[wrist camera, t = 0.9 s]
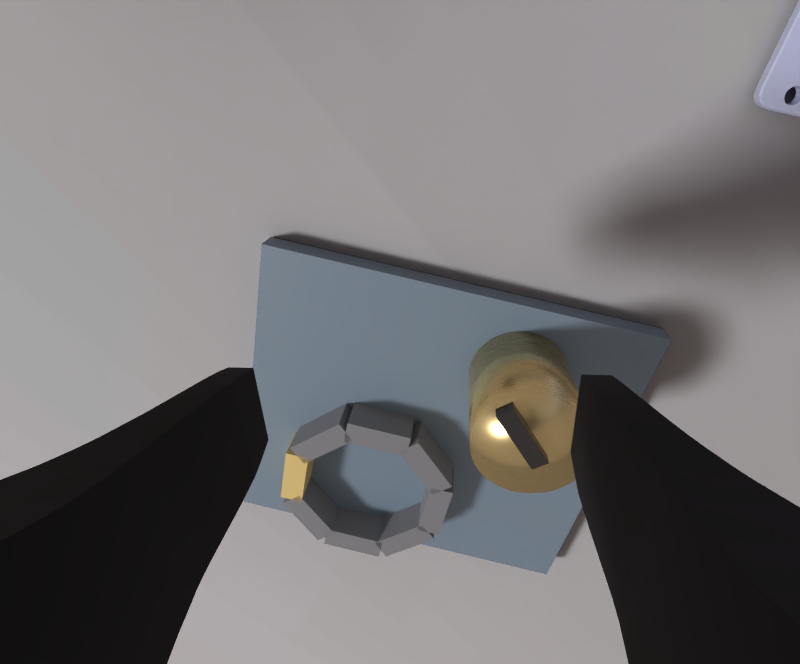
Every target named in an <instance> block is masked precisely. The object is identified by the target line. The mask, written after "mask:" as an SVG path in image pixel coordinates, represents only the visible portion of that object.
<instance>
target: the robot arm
mask: <svg viewBox="0 0 800 664" xmlns="http://www.w3.org/2000/svg"><path fill="white" fill-rule="evenodd" d="M792 87H794V88H795V90H796V95H795V98H794V99H793V100H792V101H791V102H790V103H788V104H786V103H785V100H784V97H785V94H786V92H787V91H788V90H789V89H790V88H792ZM754 102H755V103H756V105H757V106H758V107H760V108H762V109H764V110H769V111H773V112H777V113H782V114H786V115H791V116H795V117H799V118H800V0H799V1H798V3H797V5H796V7H795V9H794V11H793V13H792V15H791V18H790V20H789V22H788V24H787V26H786V28H785V30H784V32H783V34H782V36H781V38H780V40H779V42H778V44H777V46H776V48H775V50H774V52H773V54H772V56H771V58H770V60H769V62H768V64H767V66H766V68H765V71H764V73H763V75H762V77H761V79H760V81H759V83H758V85H757V87H756V89H755V93H754ZM268 440H269V439H268V434H267V430H266V425H265V420H264V416H263V411H262V406H261V402H260V397H259V392H258V387H257V383H256V378H255V373H254V369H253V368H226V369H224V370H221V371H219V372H217V373H215V374H213V375H211V376H209V377H208V378H206V379H204V380H202V381H200V382H199V383H197V384H195V385H193V386H191V387H190V388H188V389H186V390H185V391H183V392H181V393H179V394H178V395H176V396H174V397H172V398H171V399H169V400H167V401H165V402H164V403H162V404H160V405H158V406H157V407H155V408H153V409H151V410H150V411H148V412H146V413H144V414H142V415H140V416H138V417H137V418H135V419H133V420H131V421H129V422H127V423H125V424H123V425H121V426H120V427H118V428H116V429H114V430H112V431H110V432H108V433H106V434H105V435H103V436H101V437H99V438H97V439H95V440H93V441H91V442H89V443H87V444H84V445H82V446H80V447H78V448H76V449H74V450H72V451H69V452H67V453H65V454H63V455H60V456H58V457H56V458H54V459H51V460H49V461H47V462H45V463H42V464H40V465H37V466H35V467H33V468H30V469H28V470H25V471H22V472H20V473H17V474H15V475H12V476H9V477H7V478H4V479H2V480H0V664H167V662H168V659H169V657H170V654H171V652H172V649H173V646H174V644H175V641H176V639H177V636H178V633H179V631H180V629H181V626H182V624H183V621H184V619H185V617H186V614H187V612H188V609H189V607H190V605H191V602H192V600H193V597H194V595H195V592H196V590H197V588H198V586H199V584H200V581H201V579H202V577H203V575H204V573H205V571H206V569H207V567H208V565H209V563H210V561H211V560H212V558H213V556H214V554H215V552H216V550H217V548H218V546H219V545H220V543H221V541H222V539H223V537H224V535H225V533H226V532H227V530H228V528H229V526H230V524H231V522H232V520H233V519H234V517H235V515H236V513H237V511H238V509H239V507H240V505H241V504H242V502H243V500H244V498H245V496H246V494H247V492H248V490H249V488H250V486H251V484H252V482H253V480H254V478H255V476H256V473H257V471H258V468H259V466H260V463H261V460H262V457H263V455H264V452H265V449H266V446H267V443H268ZM570 452H571V457H572V463H573V468H574V474H575V479H576V484H577V489H578V494H579V497H580V501H581V504H582V507H583V510H584V513H585V516H586V519H587V522H588V525H589V529H590V532H591V535H592V538H593V541H594V544H595V547H596V550H597V553H598V556H599V559H600V562H601V565H602V568H603V571H604V574H605V577H606V580H607V583H608V586H609V589H610V592H611V595H612V598H613V602H614V605H615V609H616V612H617V616H618V619H619V623H620V627H621V632H622V636H623V641H624V645H625V649H626V654H627V658H628V663H629V664H800V507H798V506H796V505H795V504H793V503H791V502H790V501H788V500H786V499H785V498H783V497H781V496H780V495H778V494H776V493H775V492H773V491H771V490H770V489H768V488H766V487H765V486H763V485H761V484H760V483H758V482H756V481H755V480H753V479H751V478H750V477H748V476H747V475H745V474H744V473H742V472H740V471H739V470H737V469H736V468H734V467H733V466H731V465H730V464H729V463H727V462H726V461H724V460H723V459H721V458H720V457H718V456H717V455H715V454H714V453H713V452H711V451H710V450H708V449H707V448H705V447H704V446H703V445H701V444H700V443H698V442H697V441H696V440H694V439H693V438H692V437H690V436H689V435H688V434H686V433H685V432H684V431H682V430H681V429H680V428H678V427H677V426H676V425H674V424H673V423H672V422H671V421H669V420H668V419H667V418H665V417H664V416H663V415H662V414H660V413H659V412H658V411H657V410H655V409H654V408H653V407H652V406H650V405H649V404H648V403H647V402H645V401H644V400H643V399H642V398H640V397H639V396H638V395H637V394H635V393H634V392H633V391H632V390H631V389H629V388H628V387H627V386H626V385H624V384H623V383H622V382H620V381H619V380H618V379H616V378H615V377H614V376H612V375H581V379H580V387H579V394H578V401H577V408H576V415H575V423H574V430H573V437H572V444H571V451H570Z"/></svg>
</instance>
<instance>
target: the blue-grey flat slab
mask: <svg viewBox="0 0 800 664" xmlns="http://www.w3.org/2000/svg"><path fill="white" fill-rule="evenodd" d="M515 331H526V332H533V333H537V334H540V335H542V336H545V337H547V338H548V339H550V340H552V341H553V342H554V343H556V344H557V345H558V346H559V347H560V349H561V350H562V351H563V353H564V354H565V357H566V359H567V361H568V364H569V366H570V369H571V372H572V374H573V377H574V380H575V382H576V385H577V388H578V390H579V387H580V379H581V375H612V376H614V377H615V378H616V379H618V380H619V381H620V382H622V383H623V384H624V385H626V386H627V387H628V388H629V389H631V390H632V391H633V392H634V393H635V394H637V395H638V396H639V397H640V398H641V396H642V395H643V393H644V391H645V389H646V387H647V385H648V383H649V381H650V380H651V378H652V376H653V374H654V372H655V370H656V368H657V366H658V365H659V363H660V361H661V359H662V357H663V355H664V353H665V352H666V350H667V348H668V346H669V344H670V342H671V339H670V338H669V337H668V335H667V334H666V333H665V332H664V330H663V329H662V328H657V327H653V326H649V325H644V324H640V323H636V322H632V321H627V320H623V319H619V318H615V317H610V316H606V315H602V314H598V313H593V312H589V311H585V310H581V309H576V308H572V307H568V306H563V305H559V304H555V303H551V302H546V301H542V300H538V299H534V298H529V297H525V296H521V295H517V294H512V293H508V292H504V291H499V290H495V289H491V288H487V287H482V286H478V285H474V284H470V283H465V282H461V281H457V280H453V279H448V278H444V277H440V276H435V275H431V274H427V273H423V272H418V271H414V270H410V269H406V268H401V267H397V266H393V265H389V264H384V263H380V262H376V261H371V260H367V259H363V258H359V257H354V256H350V255H346V254H342V253H337V252H333V251H329V250H325V249H320V248H316V247H312V246H308V245H303V244H299V243H295V242H290V241H286V240H282V239H278V238H273V237H270V238H269V239H268V240H266V241H265V242H264V243H263V244H262V248H261V262H260V276H259V291H258V305H257V319H256V333H255V347H254V362H253V369H254V373H255V378H256V383H257V387H258V392H259V397H260V402H261V406H262V411H263V416H264V420H265V425H266V430H267V434H268V439H269V440H268V443H267V446H266V449H265V452H264V455H263V457H262V460H261V463H260V466H259V468H258V471H257V473H256V476H255V478H254V480H253V482H252V484H251V486H250V488H249V490H248V492H247V494H246V496H245V498H244V502H249V503H253V504H257V505H261V506H265V507H269V508H274V509H278V510H282V511H286V512H290V513H293V514H294V515H295V516H296V517H297V518H298V519H299V520H300V521H301V523H302V524H303V525H304V526H305V527H306V528H307V529H308V530H309V531H310V532H311V533H312V534H313V535H314V536H315V537H316V538H317V539H318V540H319V539H321V538H324V537H326V538H325V544H329V545H333V546H337V547H341V548H345V549H349V550H354V551H358V552H362V553H366V554H370V555H374V556H379V553H380V550H381V551H382V552H383V553H384V554H385V556H388V555H391V554H394V553H397V552H399V551H402V550H405V549H408V548H411V547H413V546H416V545H419V544H423V545H427V546H432V547H436V548H440V549H444V550H448V551H452V552H456V553H461V554H465V555H469V556H473V557H477V558H481V559H486V560H490V561H494V562H498V563H502V564H506V565H511V566H515V567H519V568H523V569H527V570H531V571H535V572H540V573H544V574H547V572H548V570H549V568H550V567H551V565H552V563H553V561H554V559H555V557H556V555H557V553H558V552H559V550H560V548H561V546H562V544H563V542H564V540H565V539H566V537H567V535H568V533H569V531H570V529H571V527H572V525H573V524H574V522H575V520H576V518H577V516H578V514H579V512H580V510H581V509H582V504H581V501H580V497H579V494H578V489H577V484H576V480H575V481H573V482H572V483H570V484H568V485H566V486H564V487H562V488H559V489H556V490H553V491H549V492H544V493H520V492H514V491H510V490H507V489H504V488H502V487H499V486H497V485H496V484H494V483H492V482H491V481H489V480H488V479H487V478H485V477H484V476H483V475H482V474H481V473H480V471H479V470H478V469H477V467H476V466H475V464H474V462H473V460H472V457H471V453H470V426H469V367H470V363H471V361H472V358H473V357H474V355H475V353H476V352H477V351H478V349H479V348H480V347H481V346H482V345H483V344H485V343H486V342H487V341H489V340H491V339H492V338H494V337H496V336H499V335H501V334H505V333H509V332H515Z"/></svg>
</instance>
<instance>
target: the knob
mask: <svg viewBox="0 0 800 664" xmlns="http://www.w3.org/2000/svg"><path fill="white" fill-rule="evenodd" d="M578 394H579V390H578V388H577V385H576V382H575V380H574V377H573V374H572V372H571V369H570V366H569V364H568V361H567V359H566V357H565V354H564V353H563V351H562V350H561V349H560V347H559V346H558V345H557V344H556V343H554V342H553V341H552V340H550V339H548V338H547V337H545V336H542V335H540V334H537V333H533V332H526V331H515V332H509V333H505V334H501V335H499V336H496V337H494V338H492V339H491V340H489V341H487V342H486V343H485V344H483V345H482V346H481V347H480V348H479V349H478V351H477V352H476V353H475V355H474V357H473V358H472V361H471V363H470V367H469V426H470V453H471V457H472V460H473V462H474V464H475V466H476V467H477V469H478V470H479V471H480V473H481V474H482V475H483V476H484V477H485V478H487V479H488V480H489V481H491V482H492V483H494V484H496V485H497V486H499V487H502V488H504V489H507V490H510V491H514V492H520V493H544V492H549V491H553V490H556V489H559V488H562V487H564V486H566V485H568V484H570V483H572V482H573V481H575V480H576V479H575V474H574V468H573V463H572V457H571V452H570V451H571V444H572V437H573V430H574V423H575V415H576V408H577V401H578Z"/></svg>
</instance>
